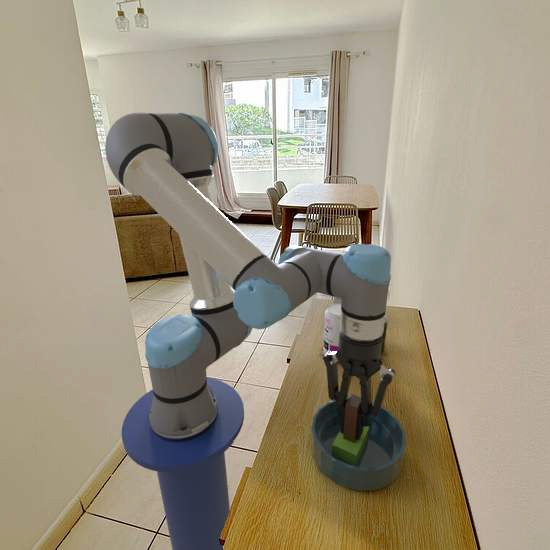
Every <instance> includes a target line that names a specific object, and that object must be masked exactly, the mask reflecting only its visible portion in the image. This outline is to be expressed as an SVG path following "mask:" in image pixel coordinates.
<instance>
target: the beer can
mask: <svg viewBox="0 0 550 550" xmlns="http://www.w3.org/2000/svg"><path fill="white" fill-rule="evenodd" d="M388 320H389V319H388V315H387V314H386V313H385V323H384V332H383V334H382V336H383V339H382V347H381V356H382V355H383V354H384V352H385V347H386V339H387V330H388V322H389V321H388Z"/></svg>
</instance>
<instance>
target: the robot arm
mask: <svg viewBox="0 0 550 550" xmlns="http://www.w3.org/2000/svg"><path fill="white" fill-rule="evenodd" d="M104 149H105V150H104V151H105V158H106V161H107V163H108V167H109V169H110V172H111V173H112V174H113V176H114V178H115V179H116V180H117V181H118V183H119V184H120V185H121V186H122V187H123V188H124V189H125V190H126V191H127V192H128V193H130V194H131V195H133V196H140V197H141V198H142V199H143V200H144V201H145V202H146V203H147V204H148V205H149V206H150V207H151V208H152V209H153V210H154V211H155V212H156V213H157V214H158V215H159V216H160V217H161V218H162V219H163V220H164V221H165V222H166V223H167V224H168V225H169V226H170V227H171V228H172V229H173V230H174V231H175V232H176V233H177V234H178V236H179V241H180V244H181V248H182V253H183V257H184V261H185V264H186V268H187V273H188V277H189V281H190V286H191V289H192V293H193V297H192V298H191V300H190V301H189V308H190V313H191V314H176V316H172V315H171V316H167V317H165V318H162V319H161V320H159V321H158V322H157V323H155V324H153V326H152V327H151V328H150V329H149V330H148V332H147V334H146V336H145V341H144V346H145V347H144V349H145V360H146V362H147V366H148V371H149V372H148V373H149V376H150V377H149V378H150V382H151V388H152V389H153V394H154V395H153V400H152V406H151V409H150V413H149V421H150V426H151V429H152V431H153V433H154V434H155V435H156V436H158V437H159V438H161V439H163V440H167V441H174V442H178V441H186V440H190V439H193V438H195V437H197V436H199V435H201V434H203V433H204V432H206V431H207V430H208V429H209V428H210V427H211V426H212V425H213V424H214V422H215V421H216V418H217V416H218V403H217V400H216V397H215V395H214V394H213V392H212V390H211V388H210V386H209V384H208V383H207V377H208V376H207V369H208V367H210V366H211V365H212V364H214V363H215V362H217V361H218V360H220V359H221V358H222V357H224V356H225V355H226V354H228V353H229V352H231V351H232V350H233V349H235V348H237V347H239V346H240V345H241V344H243V342H245V341H246V339H247V338H248V337H249V336H250V335H251V333H252V331H253V329H255V330H264V329H265V330H266V329H268V328H270V327H271V326H273V325H274V324H276V323H278V322H280V321H282V320H283V319H285V318H287V317H288V315H289V314H290V313H292V312H293V311H294V310H296V309H297V308H298V307H300V306H301V305H303V303H305V302H307V301H308V300H310V299H311V298H313V296H314V295H316V294H322V295H326V296H330V297H333V298H334V297H339V298H341V317H340V332H339V346H338V347H339V348H338V350H337V351H336V352H333V351H331V350H329V351H328V352H327V353H326V354H325V355H324V356H322V360H323V363H324V365H325V368H326V378H327V379H326V381H327V393H328V399H329V400H330V401H333V400H335V401H336V402H337V404H338V408H337V415H338V416H339V417H341V430H340V433H342V434H344V421H345V408H346V402H347V401H348V399H347V398H349V392H350V387H351V383H352V380H353V377H355V378H357V379H358V383H359V384H358V385H359V386H360V397H361V408H360V410H359V412H358V416H357V427H356V437H355V439H356V440H359V439H360V437H361V435H362V433H363V428H364V426H365V427H367V425H368V423H369V421H370V414H372V415H373V416H378V413H379V411H380V409H381V407H383V402H384V400H385V396H386V393H387V389H388V386H389V385H390V384H391V383H392V382H393V379H394V377H395V375H396V371H395V369H393V368H389V369H388V368H387V367H386V366H385V365H383V363H384V362H383V360H382V358H381V357H382V355H381V347H382V339H383V336H382V334H383V332H384V323H385V314H386V311H387V304H388V303H387V302H388V296H389V289H390V282H391V278H392V277H391V275H392V274H391V267H392V254H391V253H390V251H388V249H386V248H385V247H382V246H381V245H377V244H371V243H368V244H366V243H365V244H364V243H357V244H352V245H350V246H347V248H346V249H345V250H344V254H342V253H337V252H336V253H335V252H331V251H326V250H323V249H317V248H313V247H310V246H299V245H291V246H287V247H286V248H284V251H283V253H282V254H281V255H279V259H278V261H277V264H276V263H275V262H274V261H273V259H271V258H270V257H269V256H268V255H266V253H264V252H263V251H262V249H260V248H259V247H258V246H257V245H256V244H255V243H254V242H253V241H252V240H250V238H248V237H247V235H246V234H245V233H243V232H242V231H241V229H239V227H237V226H236V225H235V224H234V223H233V222H232V221H231V220H229V218H228V217H226V216H225V215H224V213H222V212H221V211H220V210H219V209H218V208H217V207H216V206H215V205H214V204H213V202H212V196H211V192H210V187H209V185H210V184H211V182H212V180H213V178H214V173H213V167H214V166H215V165H216V164H217V161H218V159H217V158H218V157H219V153H220V151H219V150H220V146H219V142H218V138H217V136H216V133H215V132H214V129H213V127H211V125H210V124H209V123H208V122H207V121H206V120H204V118H202V117H200V116H199V115H195V114H188V113H184V112H179V113H177V112H176V113H174V112H170V113H169V112H168V113H167V112H166V113H165V112H164V113H163V112H130V113H128V114H125V115H123V116H121V117H120V118H118V119H117V120H116V121H115V122H113V124H112V125H111V127H110V128H109V130H108V132H107V136H106V138H105V145H104ZM337 360H338V361H339V362H337ZM338 363H339V365H340V366H341V368H342V369H343V372H342V375H341V377H342V378H341V382H340V384H339V372H338V371H339V369H338ZM377 373H379V376H378V377H379V381H380V382H379V385H378V388H377V391H376V395H375V398H374V401H372V398H373V397H372V376H375V374H377ZM339 386H340V387H339ZM346 399H347V400H346ZM372 402H374V404H372Z"/></svg>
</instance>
